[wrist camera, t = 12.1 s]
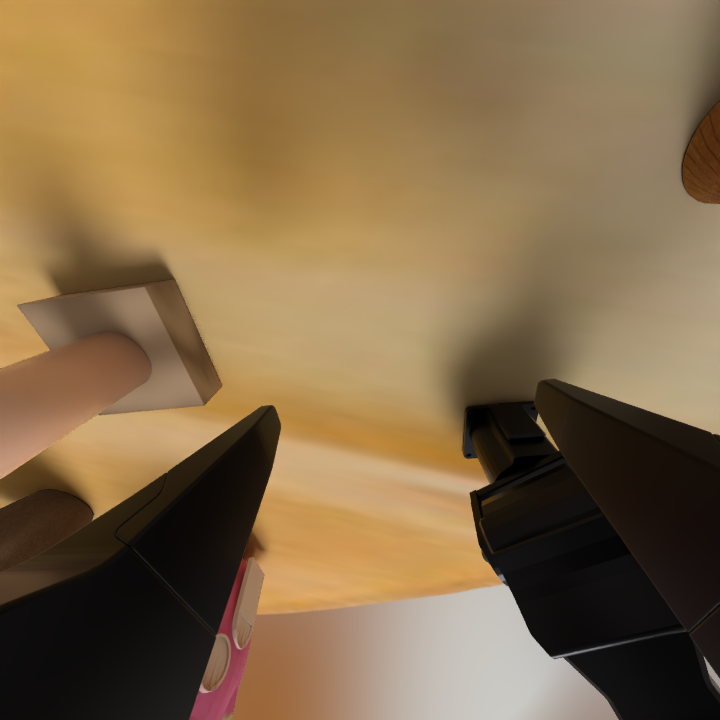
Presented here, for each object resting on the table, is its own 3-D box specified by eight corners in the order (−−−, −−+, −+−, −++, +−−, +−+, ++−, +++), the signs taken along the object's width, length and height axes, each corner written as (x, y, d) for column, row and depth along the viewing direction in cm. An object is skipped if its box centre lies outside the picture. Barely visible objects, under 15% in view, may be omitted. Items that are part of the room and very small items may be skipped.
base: (222, 386, 25) (204, 405, 22) (127, 395, 26) (99, 415, 23) (174, 278, 20) (144, 286, 18) (61, 295, 21) (16, 305, 18)
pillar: (162, 363, 20) (-125, 543, 9) (134, 396, 22) (-140, 586, 10) (102, 318, 19) (-342, 462, 7) (77, 357, 20) (-322, 527, 9)
